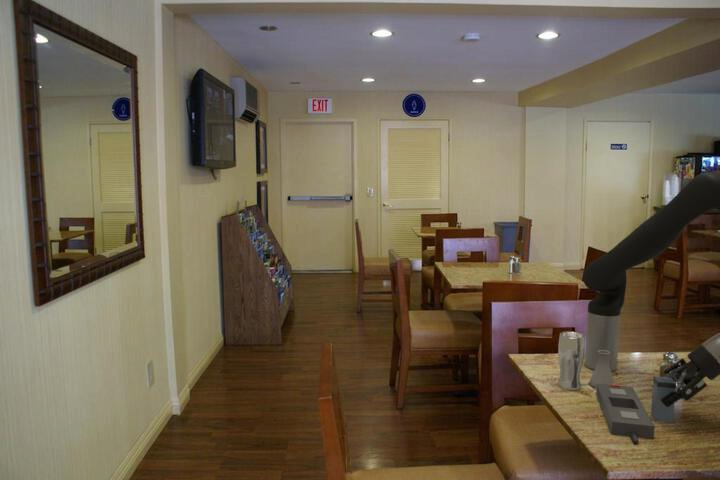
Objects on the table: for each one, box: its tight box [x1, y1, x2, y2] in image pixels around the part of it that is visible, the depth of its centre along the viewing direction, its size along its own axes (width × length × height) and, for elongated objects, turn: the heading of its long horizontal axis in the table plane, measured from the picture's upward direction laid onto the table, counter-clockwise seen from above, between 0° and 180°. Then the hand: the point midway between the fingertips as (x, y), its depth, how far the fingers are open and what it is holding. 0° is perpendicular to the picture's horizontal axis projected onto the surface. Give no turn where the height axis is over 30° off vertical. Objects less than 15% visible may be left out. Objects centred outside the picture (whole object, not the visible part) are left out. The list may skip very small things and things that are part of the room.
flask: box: [588, 350, 616, 389], centre depth 161 cm, size 7×7×10 cm
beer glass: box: [557, 331, 586, 391], centre depth 160 cm, size 7×7×15 cm
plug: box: [650, 375, 677, 424], centre depth 141 cm, size 4×4×10 cm
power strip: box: [595, 383, 655, 445], centre depth 141 cm, size 28×9×4 cm, turn 166°
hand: (659, 396), depth 141 cm, fingers open, 8 cm apart
